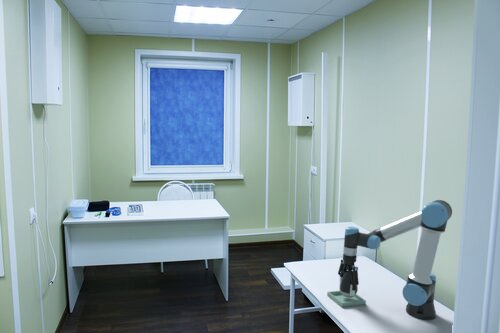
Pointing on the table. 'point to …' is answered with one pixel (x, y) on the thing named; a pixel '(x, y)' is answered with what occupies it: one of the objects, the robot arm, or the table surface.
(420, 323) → the table surface
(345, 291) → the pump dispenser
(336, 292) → the tray
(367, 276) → the table surface
